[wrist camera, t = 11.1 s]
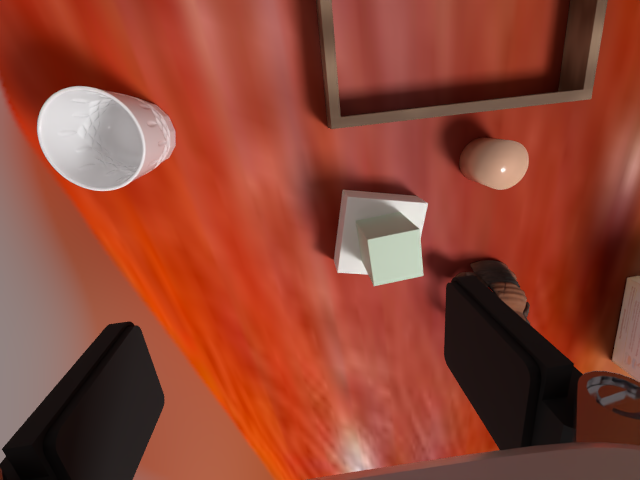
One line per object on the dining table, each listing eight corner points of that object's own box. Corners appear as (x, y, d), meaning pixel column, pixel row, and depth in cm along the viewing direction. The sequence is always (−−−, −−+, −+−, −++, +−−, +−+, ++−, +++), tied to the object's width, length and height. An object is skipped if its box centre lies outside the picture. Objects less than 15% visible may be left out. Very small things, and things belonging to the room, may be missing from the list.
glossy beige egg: (460, 140, 39) (483, 143, 34) (502, 134, 39) (531, 138, 34) (458, 183, 41) (480, 192, 36) (498, 178, 41) (525, 186, 36)
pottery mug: (525, 269, 46) (554, 326, 41) (466, 298, 52) (484, 351, 47) (473, 238, 41) (499, 300, 35) (413, 275, 46) (427, 332, 41)
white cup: (162, 185, 38) (121, 208, 29) (91, 144, 36) (21, 156, 27) (195, 122, 36) (162, 126, 27) (121, 76, 34) (58, 62, 25)
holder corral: (309, -67, 31) (312, -88, 28) (592, -93, 32) (626, -116, 29) (327, 127, 37) (331, 129, 34) (565, 100, 38) (591, 99, 35)
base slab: (342, 188, 40) (347, 196, 36) (415, 195, 41) (427, 203, 37) (333, 258, 43) (337, 272, 39) (401, 263, 44) (412, 276, 40)
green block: (355, 220, 37) (367, 239, 32) (399, 211, 38) (419, 229, 32) (361, 261, 39) (374, 286, 34) (404, 252, 39) (423, 275, 34)
